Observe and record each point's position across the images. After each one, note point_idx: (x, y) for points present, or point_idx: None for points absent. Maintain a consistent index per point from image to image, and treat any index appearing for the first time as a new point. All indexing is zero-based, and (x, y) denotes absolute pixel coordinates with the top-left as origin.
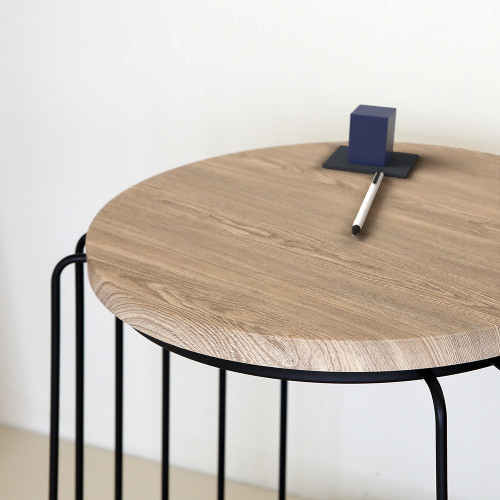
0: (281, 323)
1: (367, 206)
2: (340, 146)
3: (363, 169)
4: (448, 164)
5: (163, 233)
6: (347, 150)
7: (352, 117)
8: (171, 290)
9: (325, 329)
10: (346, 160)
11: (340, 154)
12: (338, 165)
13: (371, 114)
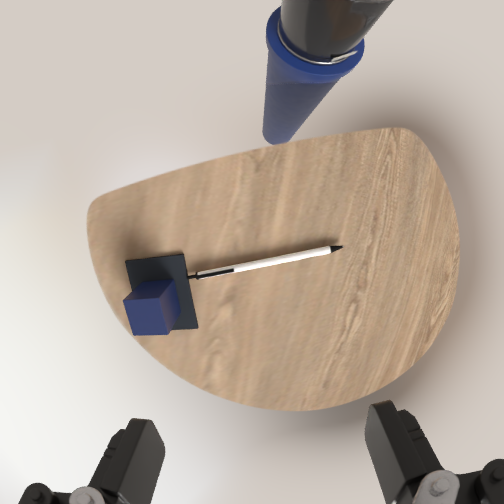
0: (450, 241)
1: (286, 256)
2: None
3: (190, 293)
4: (127, 230)
5: (373, 358)
6: None
7: (168, 330)
8: (435, 311)
9: (448, 216)
10: None
11: None
12: (192, 316)
13: (158, 315)
